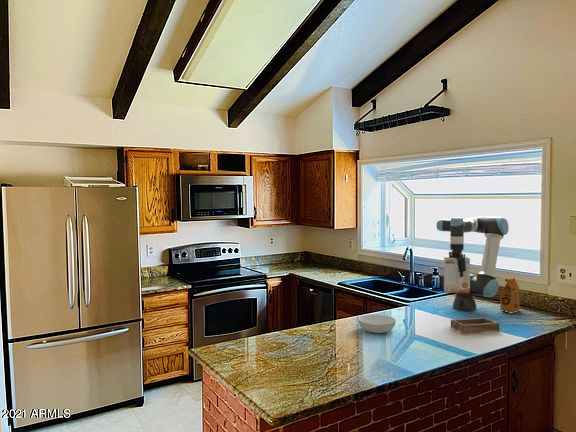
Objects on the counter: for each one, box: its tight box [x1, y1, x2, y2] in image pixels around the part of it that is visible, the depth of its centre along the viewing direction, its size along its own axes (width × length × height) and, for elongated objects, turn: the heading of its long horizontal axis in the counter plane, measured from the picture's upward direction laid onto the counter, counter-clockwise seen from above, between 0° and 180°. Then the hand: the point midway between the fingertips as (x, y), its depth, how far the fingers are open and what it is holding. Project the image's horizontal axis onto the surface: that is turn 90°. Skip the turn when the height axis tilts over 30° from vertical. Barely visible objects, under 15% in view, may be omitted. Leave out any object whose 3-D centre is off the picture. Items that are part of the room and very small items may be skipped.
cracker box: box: [443, 256, 471, 294], centre depth 271 cm, size 14×6×21 cm, turn 85°
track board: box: [450, 317, 501, 336], centre depth 255 cm, size 13×22×5 cm, turn 102°
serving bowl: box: [357, 313, 397, 334], centre depth 255 cm, size 21×21×7 cm
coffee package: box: [499, 276, 521, 313], centre depth 296 cm, size 10×12×22 cm
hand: (456, 281), depth 272 cm, fingers closed on cracker box, 7 cm apart
